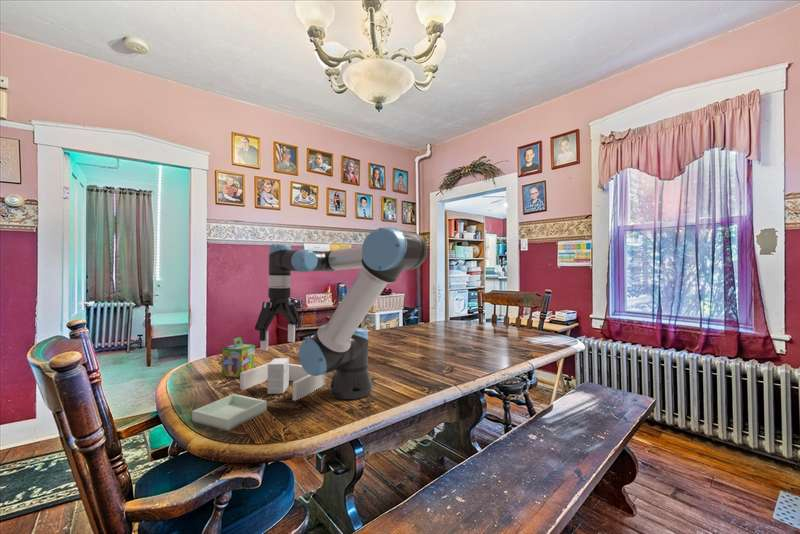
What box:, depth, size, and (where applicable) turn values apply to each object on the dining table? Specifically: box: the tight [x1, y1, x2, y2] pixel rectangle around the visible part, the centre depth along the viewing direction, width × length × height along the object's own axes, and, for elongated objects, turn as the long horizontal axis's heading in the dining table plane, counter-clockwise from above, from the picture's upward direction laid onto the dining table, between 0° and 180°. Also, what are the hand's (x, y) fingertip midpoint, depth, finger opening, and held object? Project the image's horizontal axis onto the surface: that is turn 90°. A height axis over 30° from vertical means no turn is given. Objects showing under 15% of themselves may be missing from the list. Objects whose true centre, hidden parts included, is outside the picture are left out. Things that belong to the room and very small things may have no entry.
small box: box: [267, 357, 290, 395], centre depth 120 cm, size 8×6×10 cm
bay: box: [239, 362, 326, 402], centre depth 123 cm, size 25×16×6 cm, turn 68°
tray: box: [191, 393, 268, 432], centre depth 99 cm, size 14×14×3 cm
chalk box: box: [221, 337, 256, 379], centre depth 137 cm, size 9×9×15 cm
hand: (278, 345), depth 120 cm, fingers open, 13 cm apart
